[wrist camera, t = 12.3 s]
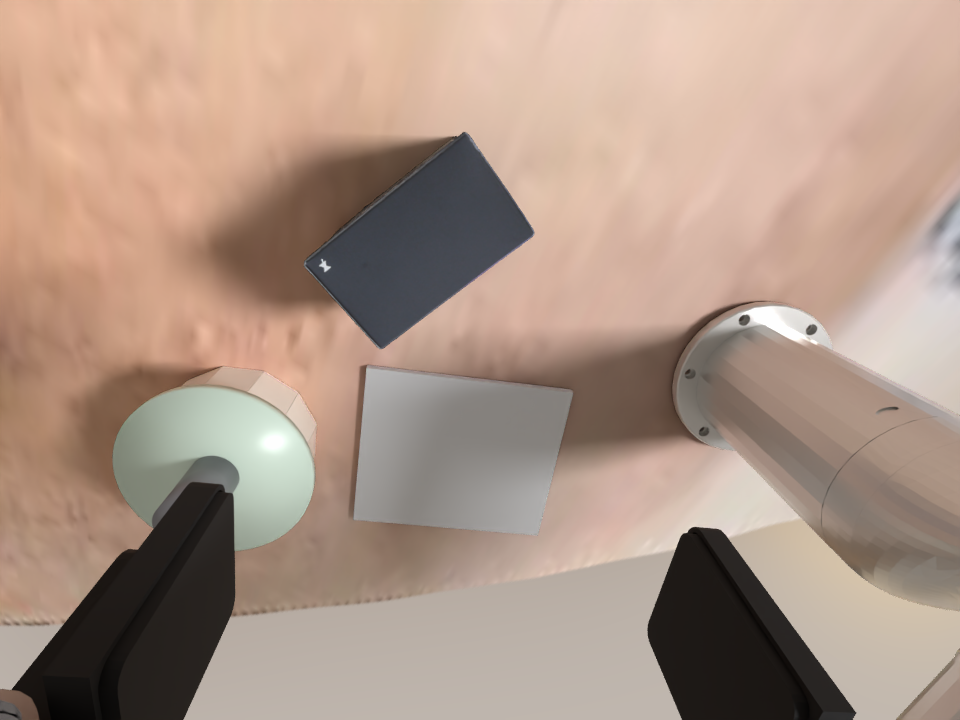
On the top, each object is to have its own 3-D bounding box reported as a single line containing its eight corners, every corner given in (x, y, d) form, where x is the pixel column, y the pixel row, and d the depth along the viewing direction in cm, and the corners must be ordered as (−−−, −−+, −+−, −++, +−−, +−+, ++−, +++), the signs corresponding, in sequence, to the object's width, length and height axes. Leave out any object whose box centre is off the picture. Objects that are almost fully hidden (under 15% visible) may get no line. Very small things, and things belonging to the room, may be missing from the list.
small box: (396, 304, 38) (379, 358, 28) (334, 231, 36) (293, 262, 26) (514, 214, 36) (541, 238, 26) (457, 131, 34) (463, 124, 24)
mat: (571, 389, 41) (573, 392, 41) (536, 530, 46) (537, 535, 46) (367, 364, 39) (366, 367, 39) (354, 515, 44) (353, 519, 44)
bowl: (319, 377, 39) (302, 407, 35) (313, 496, 43) (297, 538, 39) (165, 359, 38) (127, 388, 33) (173, 484, 42) (140, 525, 37)
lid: (319, 396, 34) (297, 441, 29) (311, 550, 39) (290, 613, 34) (110, 372, 33) (45, 415, 28) (127, 536, 38) (75, 600, 32)
